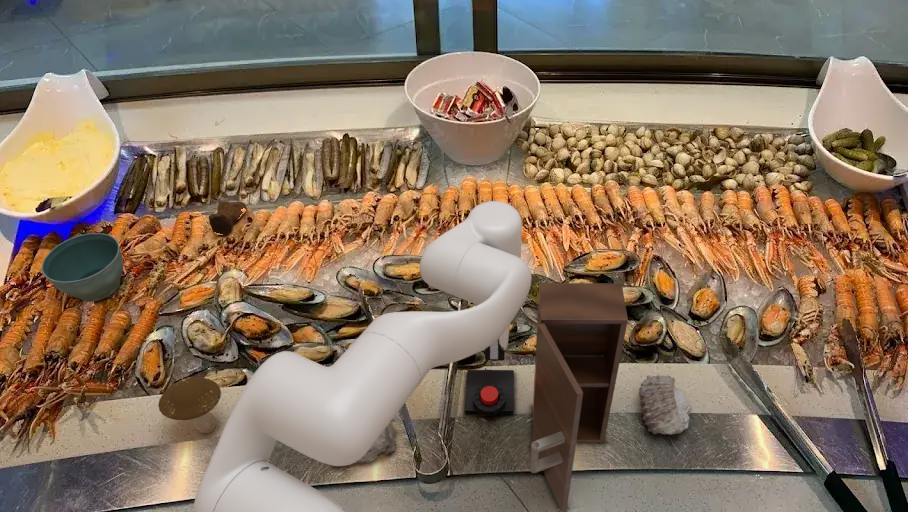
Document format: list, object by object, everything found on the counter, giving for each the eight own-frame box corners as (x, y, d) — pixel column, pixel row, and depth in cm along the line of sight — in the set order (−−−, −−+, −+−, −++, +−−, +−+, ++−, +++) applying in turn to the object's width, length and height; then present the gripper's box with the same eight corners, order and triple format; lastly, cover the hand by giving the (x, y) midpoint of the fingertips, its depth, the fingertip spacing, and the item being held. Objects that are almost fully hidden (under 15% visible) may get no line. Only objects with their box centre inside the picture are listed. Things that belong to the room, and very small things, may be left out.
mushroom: (184, 409, 137) (159, 365, 127) (241, 406, 137) (220, 363, 127) (170, 450, 130) (142, 407, 120) (229, 447, 131) (206, 405, 121)
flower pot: (150, 274, 165) (134, 242, 158) (98, 321, 154) (78, 289, 146) (100, 257, 169) (82, 225, 162) (46, 302, 158) (24, 270, 151)
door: (533, 523, 120) (541, 407, 95) (504, 456, 130) (505, 335, 104) (566, 509, 122) (583, 392, 97) (536, 444, 131) (543, 322, 106)
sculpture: (197, 209, 166) (221, 174, 178) (196, 238, 173) (220, 202, 184) (229, 218, 167) (252, 182, 179) (228, 246, 174) (249, 210, 185)
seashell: (699, 440, 129) (678, 407, 125) (654, 453, 133) (633, 421, 128) (689, 386, 142) (670, 354, 138) (649, 399, 145) (629, 368, 141)
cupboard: (603, 442, 132) (628, 319, 107) (533, 442, 132) (540, 319, 106) (599, 407, 138) (621, 283, 112) (532, 407, 138) (539, 282, 112)
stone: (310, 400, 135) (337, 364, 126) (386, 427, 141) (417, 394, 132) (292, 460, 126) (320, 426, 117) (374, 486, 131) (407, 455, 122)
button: (498, 406, 135) (498, 401, 133) (480, 406, 134) (480, 401, 133) (498, 390, 137) (498, 385, 136) (481, 390, 137) (480, 385, 136)
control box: (513, 420, 136) (513, 411, 133) (464, 420, 135) (464, 411, 133) (513, 374, 144) (513, 364, 142) (467, 374, 144) (466, 364, 141)
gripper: (470, 243, 102) (473, 321, 114) (466, 317, 90) (469, 395, 103) (519, 243, 102) (517, 321, 114) (521, 318, 90) (518, 395, 103)
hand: (494, 356), depth 108 cm, fingers closed
